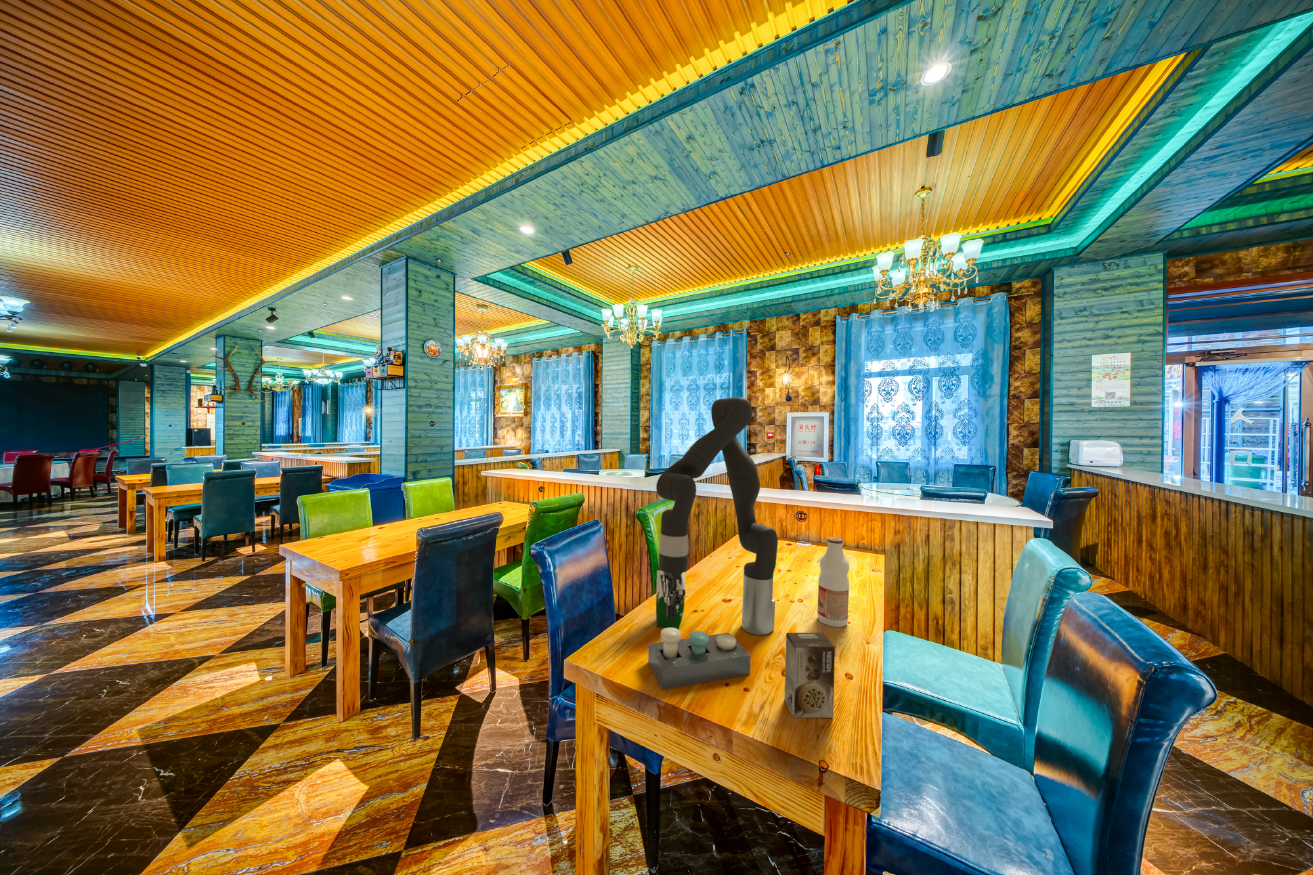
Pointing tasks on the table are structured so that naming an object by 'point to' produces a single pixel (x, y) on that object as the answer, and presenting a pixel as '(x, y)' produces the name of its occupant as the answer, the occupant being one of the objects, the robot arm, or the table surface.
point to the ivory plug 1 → (670, 642)
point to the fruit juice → (833, 585)
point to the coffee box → (809, 675)
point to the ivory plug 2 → (725, 642)
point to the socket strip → (697, 663)
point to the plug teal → (698, 642)
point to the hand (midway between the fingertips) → (670, 617)
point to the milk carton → (661, 606)
